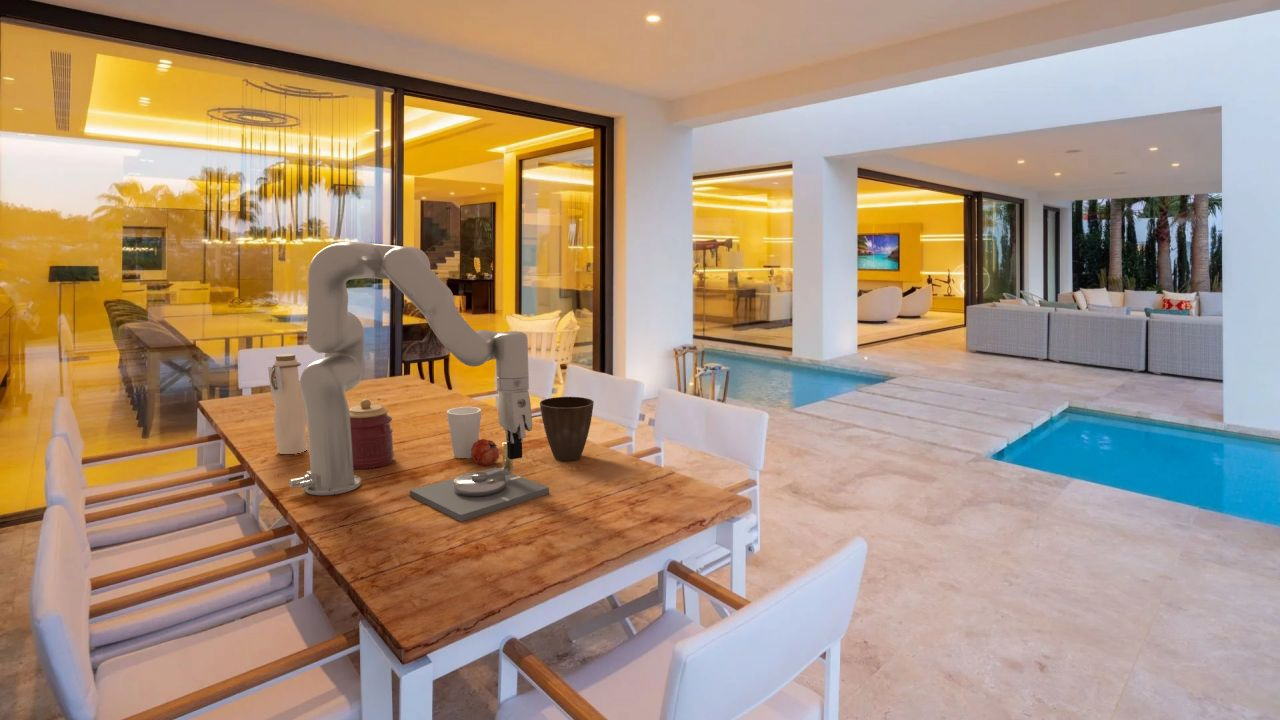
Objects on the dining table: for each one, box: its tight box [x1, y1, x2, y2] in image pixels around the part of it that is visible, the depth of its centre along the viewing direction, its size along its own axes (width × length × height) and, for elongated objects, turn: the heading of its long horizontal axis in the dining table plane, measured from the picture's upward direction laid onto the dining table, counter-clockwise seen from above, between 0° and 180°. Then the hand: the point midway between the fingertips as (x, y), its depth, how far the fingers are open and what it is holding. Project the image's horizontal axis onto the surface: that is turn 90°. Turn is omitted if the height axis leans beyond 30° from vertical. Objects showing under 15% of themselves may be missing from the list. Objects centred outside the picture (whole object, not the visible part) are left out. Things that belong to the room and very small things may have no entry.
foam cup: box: [446, 406, 482, 459], centre depth 191 cm, size 10×9×13 cm
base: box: [409, 466, 550, 522], centre depth 160 cm, size 24×22×2 cm
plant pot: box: [539, 396, 595, 462], centre depth 189 cm, size 15×15×16 cm
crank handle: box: [453, 440, 514, 497], centre depth 161 cm, size 16×12×9 cm
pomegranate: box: [471, 438, 500, 467], centre depth 183 cm, size 7×7×10 cm
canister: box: [349, 398, 395, 470], centre depth 183 cm, size 13×13×18 cm
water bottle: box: [267, 353, 309, 455], centre depth 192 cm, size 10×9×28 cm
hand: (514, 457), depth 164 cm, fingers closed
